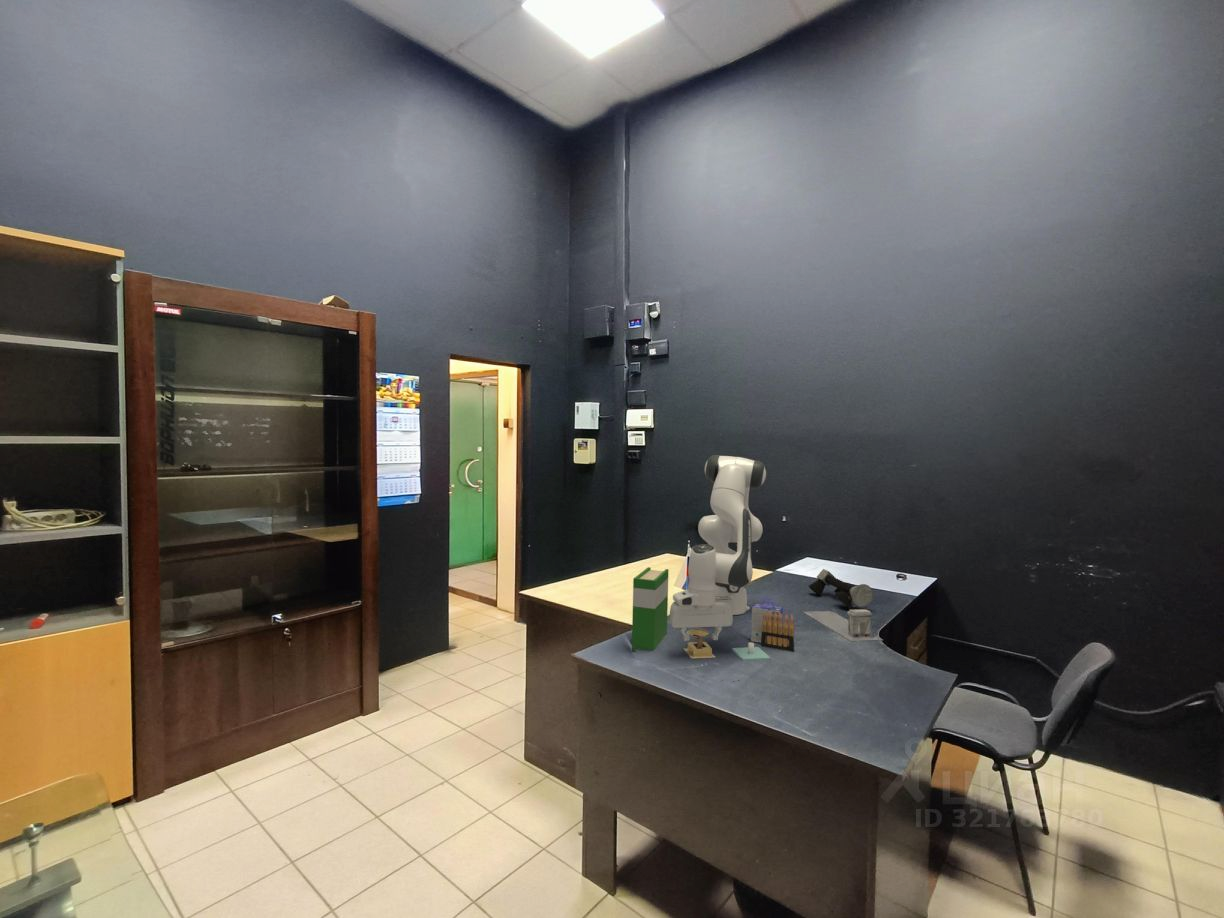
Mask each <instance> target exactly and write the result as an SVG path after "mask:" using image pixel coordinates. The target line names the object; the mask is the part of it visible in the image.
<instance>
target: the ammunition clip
mask: <svg viewBox="0 0 1224 918" xmlns="http://www.w3.org/2000/svg"><path fill="white" fill-rule="evenodd" d="M783 619H784V621H783ZM794 621H795V619H794V615H793V614H791V616H790V618H789V616H788V614H787V613H786V614H785V616H784V618H782V614H781V613H780V616H779V624H777V614H776V612H775V614H774V621H773V631H772V615H771V612H769V616H768V624H767V616H766V611H764V614H763V622H762V636H761V643H760V647H763V648H769V649H774V650H775V649H776V650H780V651H787V652H792V653H794V652H795V622H794ZM777 637H778V641H777Z"/></svg>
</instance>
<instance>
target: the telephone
mask: <svg viewBox="0 0 1224 918" xmlns="http://www.w3.org/2000/svg"><path fill="white" fill-rule="evenodd" d="M816 578H817V580H815V581H814V582H812V583H810V584H809V585H808V588H809V589H810V590H812V592H814V593H815V594H816V595H818V596H819V597H821V596H822V594H823V591H824V590H825V587H826V586H827V587H830V586H832V587H835V589H834V590H833V592H834V595H835V596H836V597H837V598H838V599H839V600H840V601H841V602H842V603H843V604H844V605H845V606H846V607H847V608H848V610H853V609H852V603H853V604H855V606H856V607H859V608H865V607H866V606H868V605H869V604H870V603H871V602H872V600H873V596H874V594H873V593H874V592H873V590H872V588H871V586H870V585H868V584H866V583H861V584H855V583H850V582H847V581H843V580H841V579H838V578H836V577H835V576H834V575H833V573H831V571H829V570H827V569H824V568H823V569H822V570H821V571H819V573H818V575H817V576H816Z"/></svg>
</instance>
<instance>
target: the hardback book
mask: <svg viewBox="0 0 1224 918" xmlns="http://www.w3.org/2000/svg"><path fill="white" fill-rule="evenodd" d="M651 568H652V567H649V566H648V567H646V568H645V569H644V570H643V571H641V572H639V574H637V575H636V576H635V577H634V578H633V580H632V581H633V582H632V622H631V624H632V628H631V632H632V633H631V652H632V653H635V652H636V650H635V649H641V650H647V651H653V652H654V651H655V650H656V649H657V647H658V646H659V645H660V643H661V642H662V640H663V639H664V638H665V636H666V635H667V634H668V610H669V609H668V605H669V601H668V600H669V599H668V598H669V569H667V568H665V569H664V570H657V569H651ZM636 653H637V652H636Z"/></svg>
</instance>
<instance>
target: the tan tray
mask: <svg viewBox="0 0 1224 918" xmlns="http://www.w3.org/2000/svg"><path fill="white" fill-rule="evenodd" d="M687 649H688V651H689V652H690V653H691V655H692V656H693V657H703V656H712V653H713V648H712V647H711V646H710V645H709V643H707V641H703V647H699V648H697V641H687Z"/></svg>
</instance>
